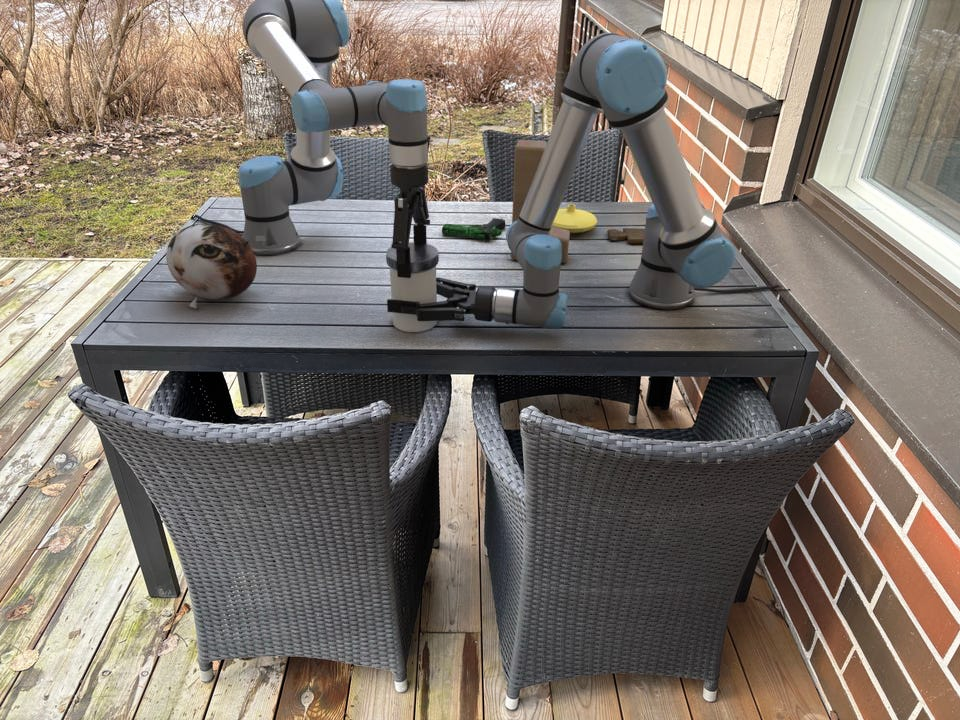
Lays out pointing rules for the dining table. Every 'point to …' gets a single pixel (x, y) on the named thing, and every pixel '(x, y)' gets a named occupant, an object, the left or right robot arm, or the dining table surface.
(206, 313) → the dining table surface
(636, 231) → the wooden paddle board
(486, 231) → the handgun
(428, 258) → the lid
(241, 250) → the cat face ball
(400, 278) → the jar
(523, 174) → the decorative block
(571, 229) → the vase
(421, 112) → the left robot arm
